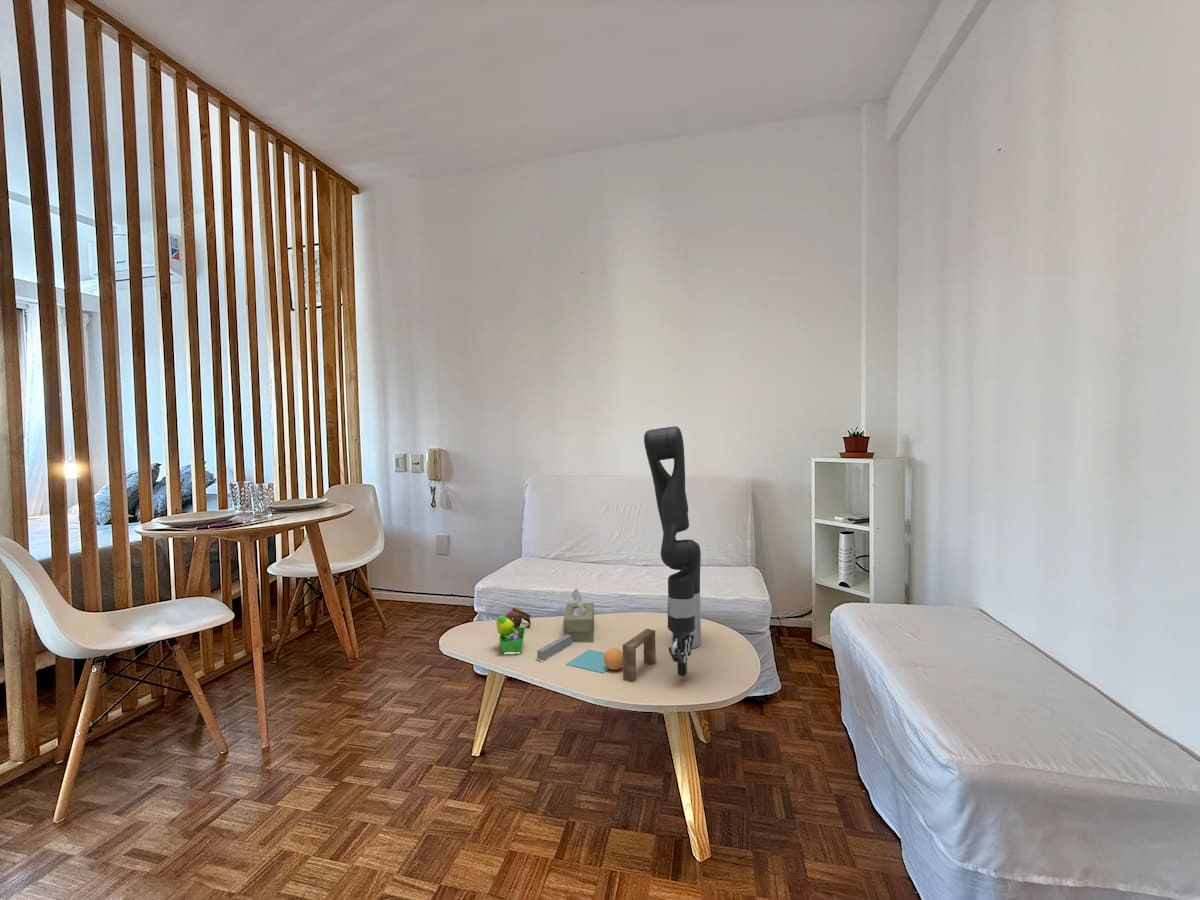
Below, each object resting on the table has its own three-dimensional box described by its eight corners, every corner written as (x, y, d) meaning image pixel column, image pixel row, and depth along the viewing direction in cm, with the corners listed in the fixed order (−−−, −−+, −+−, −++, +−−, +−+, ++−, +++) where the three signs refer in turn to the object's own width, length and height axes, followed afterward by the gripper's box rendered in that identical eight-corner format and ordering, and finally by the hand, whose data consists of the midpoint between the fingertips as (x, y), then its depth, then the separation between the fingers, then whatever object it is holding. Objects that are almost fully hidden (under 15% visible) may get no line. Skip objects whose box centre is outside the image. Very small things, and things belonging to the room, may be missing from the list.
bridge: (623, 679, 149) (622, 645, 149) (646, 660, 162) (646, 628, 162) (632, 682, 148) (632, 647, 148) (655, 662, 161) (655, 630, 161)
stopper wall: (566, 643, 178) (566, 634, 178) (571, 644, 177) (571, 635, 177) (537, 660, 164) (537, 650, 164) (542, 661, 163) (542, 651, 163)
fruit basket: (523, 655, 168) (523, 619, 168) (495, 657, 167) (494, 621, 167) (525, 642, 179) (524, 608, 179) (498, 644, 178) (497, 610, 178)
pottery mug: (499, 627, 196) (509, 605, 199) (523, 637, 197) (532, 615, 200) (501, 629, 185) (511, 606, 187) (526, 640, 186) (536, 617, 188)
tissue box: (567, 624, 197) (566, 581, 197) (594, 624, 197) (593, 581, 196) (563, 643, 178) (562, 596, 178) (593, 643, 178) (592, 595, 178)
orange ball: (623, 667, 159) (606, 655, 161) (630, 651, 157) (613, 640, 159) (614, 678, 154) (597, 665, 156) (621, 662, 152) (604, 650, 154)
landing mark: (588, 649, 172) (588, 649, 172) (624, 657, 165) (624, 656, 165) (565, 664, 160) (565, 664, 160) (603, 673, 154) (603, 672, 154)
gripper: (677, 604, 156) (678, 663, 156) (658, 617, 144) (659, 681, 145) (702, 607, 152) (703, 668, 152) (685, 621, 141) (686, 687, 141)
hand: (682, 674), depth 148 cm, fingers closed
